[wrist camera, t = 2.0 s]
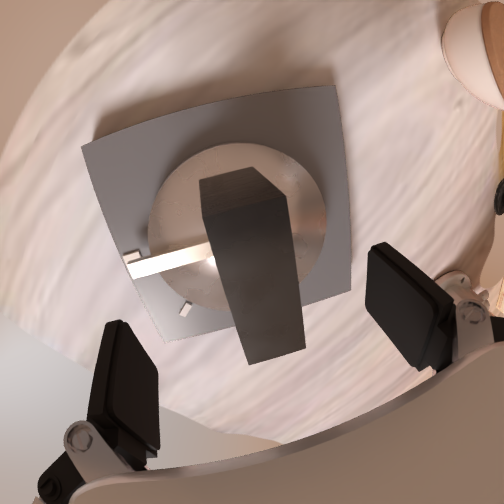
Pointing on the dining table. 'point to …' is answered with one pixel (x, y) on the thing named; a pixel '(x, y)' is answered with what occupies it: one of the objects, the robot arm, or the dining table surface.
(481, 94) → the lidded jar
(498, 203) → the dark grey chess piece
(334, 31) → the dining table surface
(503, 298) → the coffeecake box
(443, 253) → the dining table surface
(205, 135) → the dial plate
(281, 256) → the dial
